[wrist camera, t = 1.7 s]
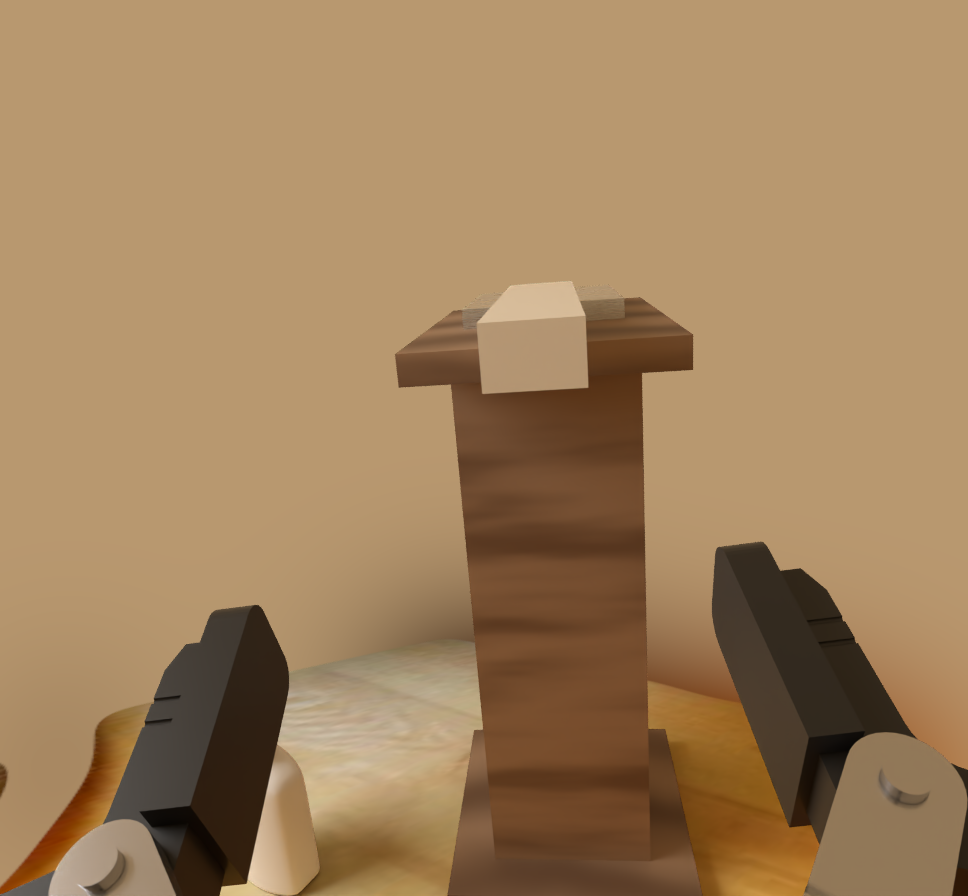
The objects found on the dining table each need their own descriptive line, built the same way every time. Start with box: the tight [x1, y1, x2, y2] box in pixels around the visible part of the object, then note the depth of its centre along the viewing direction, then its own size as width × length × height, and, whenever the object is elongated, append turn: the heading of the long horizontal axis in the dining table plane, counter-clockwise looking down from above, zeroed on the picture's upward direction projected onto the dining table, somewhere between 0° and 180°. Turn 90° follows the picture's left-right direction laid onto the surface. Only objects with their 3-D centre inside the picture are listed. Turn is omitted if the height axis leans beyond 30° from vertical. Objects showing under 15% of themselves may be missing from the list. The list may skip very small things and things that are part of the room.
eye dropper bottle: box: [248, 745, 320, 896], centre depth 42 cm, size 4×6×12 cm
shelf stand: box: [395, 297, 703, 896], centre depth 42 cm, size 18×14×32 cm
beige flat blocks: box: [462, 281, 625, 394], centre depth 32 cm, size 26×8×2 cm, turn 175°
